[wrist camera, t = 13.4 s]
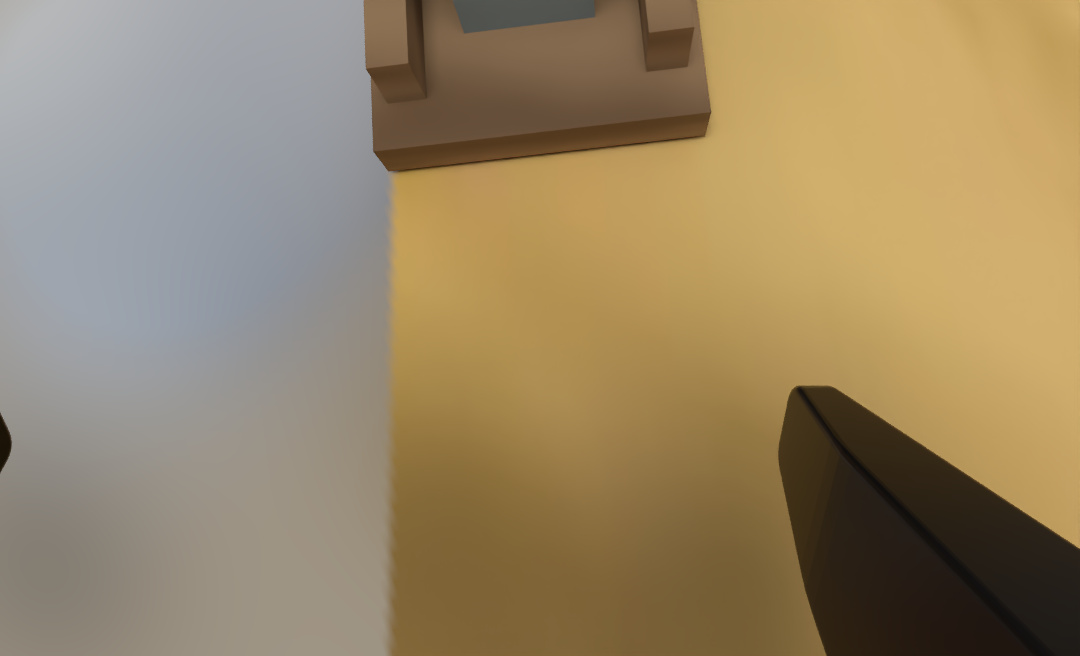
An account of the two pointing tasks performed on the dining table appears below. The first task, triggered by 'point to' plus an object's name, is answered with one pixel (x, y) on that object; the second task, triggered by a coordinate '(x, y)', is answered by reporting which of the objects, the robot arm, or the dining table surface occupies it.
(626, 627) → the dining table surface
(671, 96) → the stand
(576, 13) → the grey rectangular block
